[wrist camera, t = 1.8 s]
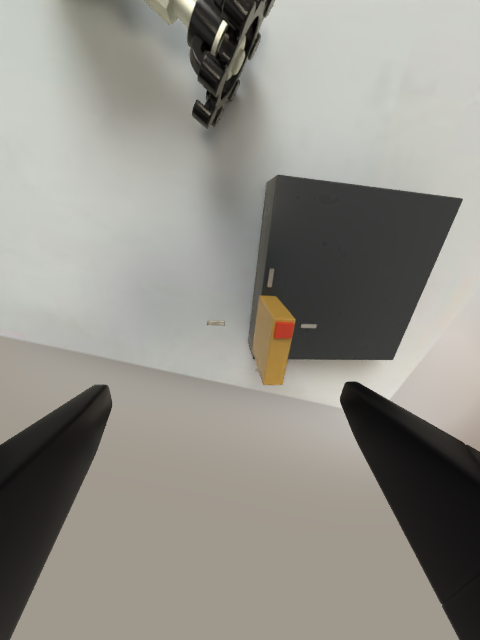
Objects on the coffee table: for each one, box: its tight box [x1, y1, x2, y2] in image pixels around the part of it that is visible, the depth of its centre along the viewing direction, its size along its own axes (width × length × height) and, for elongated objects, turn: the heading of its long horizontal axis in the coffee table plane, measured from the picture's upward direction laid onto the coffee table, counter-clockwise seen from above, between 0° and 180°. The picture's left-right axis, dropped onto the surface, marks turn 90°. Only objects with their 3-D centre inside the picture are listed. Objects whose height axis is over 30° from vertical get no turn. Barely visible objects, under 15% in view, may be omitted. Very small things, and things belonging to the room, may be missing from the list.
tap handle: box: [252, 295, 296, 385], centre depth 16 cm, size 5×1×5 cm, turn 175°
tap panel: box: [207, 175, 463, 371], centre depth 19 cm, size 15×18×3 cm
